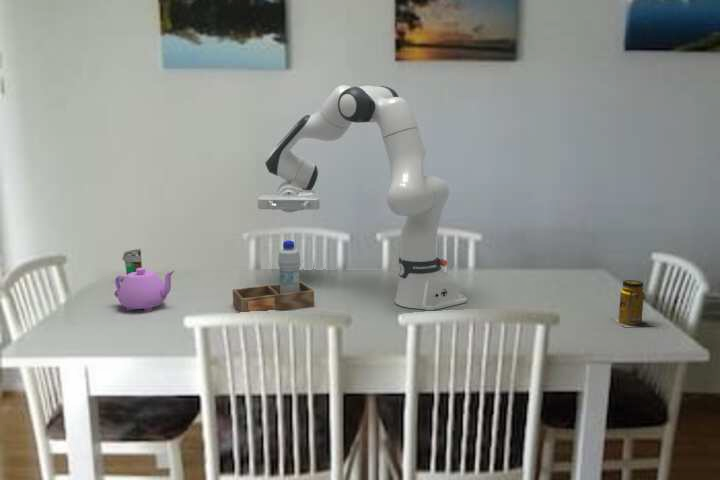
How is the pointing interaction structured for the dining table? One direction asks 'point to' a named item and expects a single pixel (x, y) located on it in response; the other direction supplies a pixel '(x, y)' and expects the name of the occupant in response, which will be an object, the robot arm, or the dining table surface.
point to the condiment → (631, 305)
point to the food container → (132, 260)
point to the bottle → (289, 268)
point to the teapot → (142, 289)
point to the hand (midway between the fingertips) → (288, 207)
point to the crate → (272, 298)
